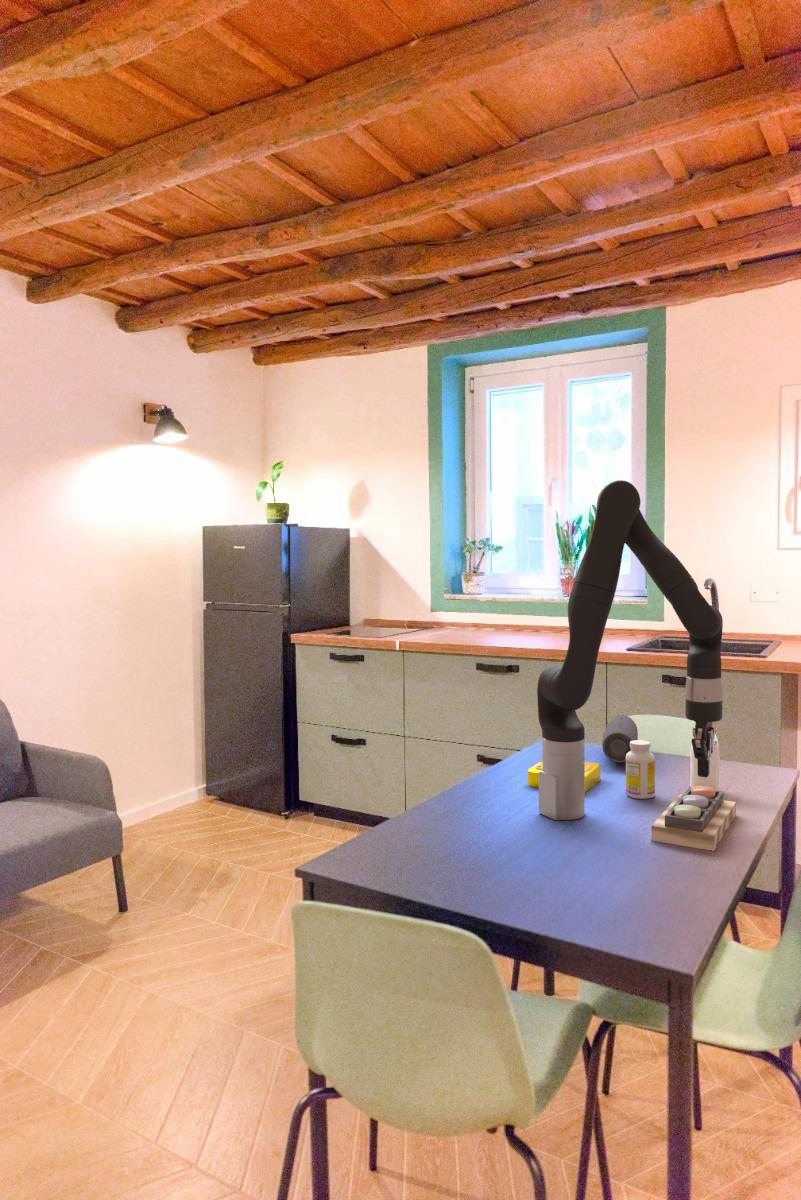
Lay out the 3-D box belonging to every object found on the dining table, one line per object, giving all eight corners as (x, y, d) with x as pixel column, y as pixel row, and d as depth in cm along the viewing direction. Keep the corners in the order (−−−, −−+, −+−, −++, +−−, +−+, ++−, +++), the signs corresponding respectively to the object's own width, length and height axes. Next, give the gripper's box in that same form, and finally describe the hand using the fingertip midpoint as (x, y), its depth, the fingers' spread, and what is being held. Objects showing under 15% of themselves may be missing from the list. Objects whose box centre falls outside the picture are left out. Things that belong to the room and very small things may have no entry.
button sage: (697, 822, 163) (697, 814, 163) (671, 818, 166) (671, 810, 165) (702, 815, 167) (702, 806, 167) (677, 811, 170) (677, 803, 170)
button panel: (713, 851, 160) (714, 824, 159) (651, 840, 166) (651, 815, 166) (735, 815, 180) (736, 792, 180) (679, 806, 186) (679, 784, 186)
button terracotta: (712, 802, 176) (712, 793, 176) (688, 798, 178) (688, 790, 178) (717, 795, 180) (717, 787, 180) (693, 792, 183) (693, 784, 182)
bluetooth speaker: (605, 746, 243) (605, 712, 242) (638, 747, 240) (638, 714, 239) (600, 766, 221) (600, 729, 221) (636, 768, 218) (636, 731, 218)
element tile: (583, 796, 197) (583, 776, 197) (524, 787, 205) (524, 768, 204) (602, 780, 210) (602, 761, 209) (547, 772, 218) (547, 754, 217)
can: (721, 795, 195) (721, 745, 194) (692, 793, 196) (692, 744, 195) (716, 787, 201) (716, 738, 200) (688, 785, 202) (688, 737, 201)
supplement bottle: (651, 791, 198) (652, 739, 197) (657, 800, 192) (657, 745, 191) (623, 791, 199) (623, 738, 198) (628, 799, 192) (628, 745, 191)
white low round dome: (705, 812, 169) (705, 803, 169) (680, 808, 172) (680, 799, 172) (710, 805, 174) (710, 796, 173) (686, 801, 176) (686, 793, 176)
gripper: (716, 704, 170) (715, 786, 171) (727, 693, 181) (727, 770, 183) (678, 701, 174) (678, 781, 175) (692, 691, 185) (692, 766, 187)
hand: (703, 775), depth 179 cm, fingers closed
